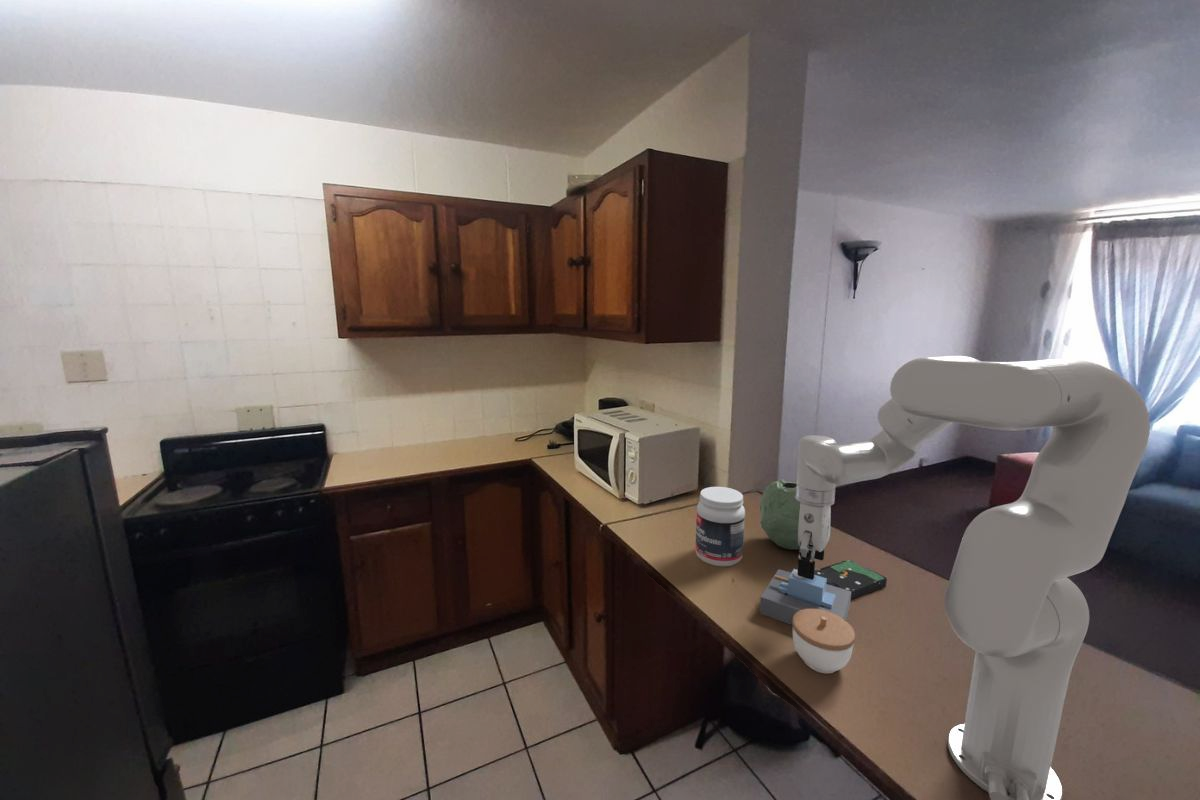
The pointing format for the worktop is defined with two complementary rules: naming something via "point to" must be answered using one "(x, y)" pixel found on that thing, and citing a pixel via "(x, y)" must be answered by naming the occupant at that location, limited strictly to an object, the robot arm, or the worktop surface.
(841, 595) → the plate
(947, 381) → the robot arm
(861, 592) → the disk drive
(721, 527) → the supplement tub
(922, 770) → the worktop surface
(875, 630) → the worktop surface
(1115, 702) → the worktop surface
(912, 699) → the worktop surface
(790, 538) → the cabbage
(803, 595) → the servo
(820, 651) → the lidded jar
